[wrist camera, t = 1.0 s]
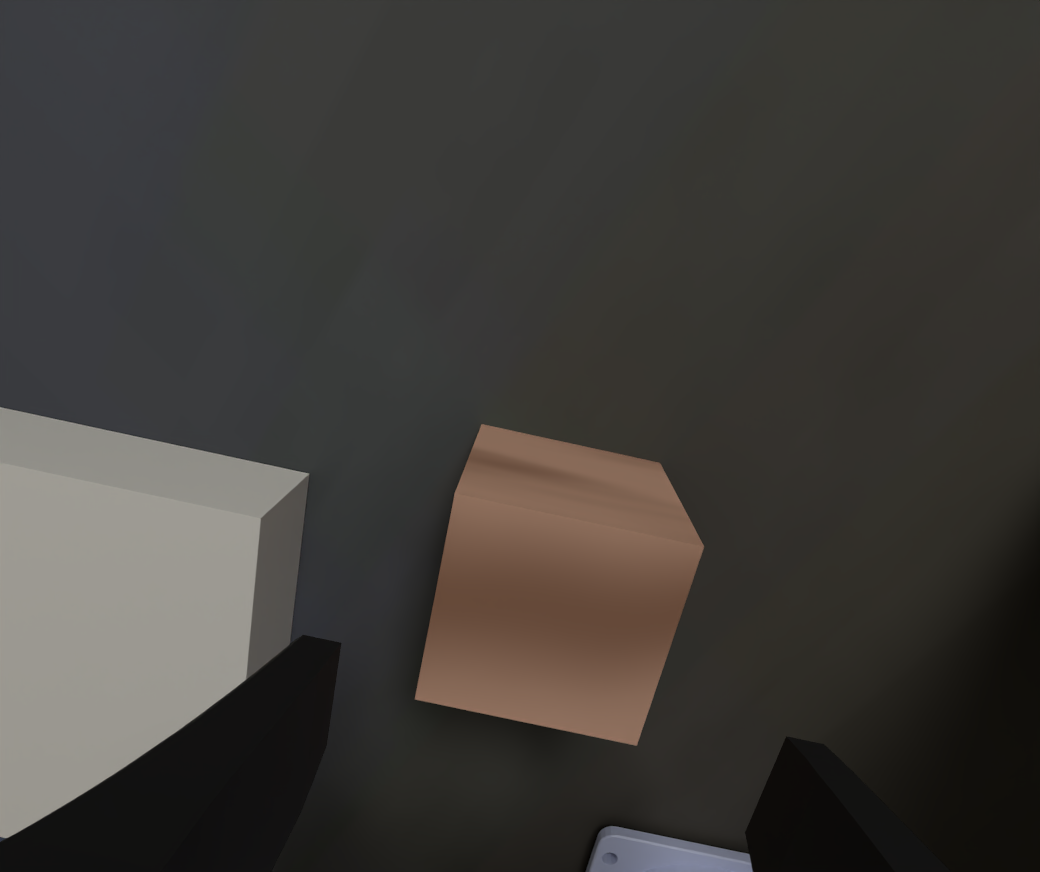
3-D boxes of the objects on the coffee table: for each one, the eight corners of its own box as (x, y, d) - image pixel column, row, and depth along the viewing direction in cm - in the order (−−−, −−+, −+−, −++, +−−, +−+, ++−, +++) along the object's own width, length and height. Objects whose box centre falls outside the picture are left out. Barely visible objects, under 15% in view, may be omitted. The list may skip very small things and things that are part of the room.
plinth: (272, 795, 21) (227, 883, 18) (-77, 723, 20) (-179, 800, 18) (309, 473, 17) (260, 518, 14) (-112, 383, 17) (-247, 409, 14)
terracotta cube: (613, 615, 18) (636, 745, 13) (450, 580, 18) (414, 699, 13) (659, 461, 17) (704, 546, 12) (481, 423, 17) (454, 492, 12)
